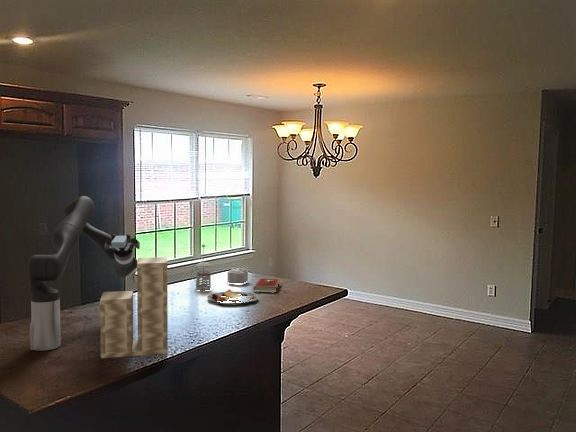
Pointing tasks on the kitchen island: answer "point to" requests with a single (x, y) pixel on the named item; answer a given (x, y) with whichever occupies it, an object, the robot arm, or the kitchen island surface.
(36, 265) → the robot arm
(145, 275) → the stepped stand
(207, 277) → the french press
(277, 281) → the hardcover book
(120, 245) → the blue-grey flat bar
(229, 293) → the food plate
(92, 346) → the kitchen island surface
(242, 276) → the lumpy-topped squat cylinder
